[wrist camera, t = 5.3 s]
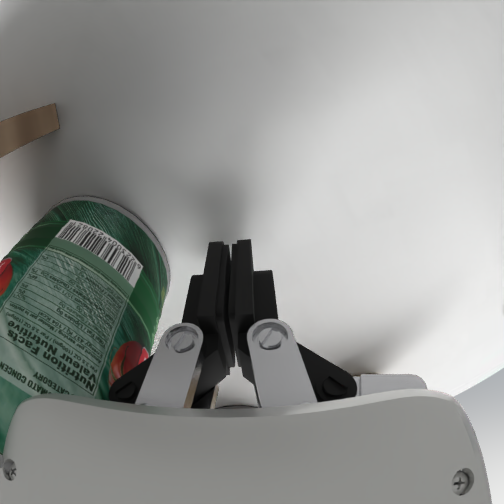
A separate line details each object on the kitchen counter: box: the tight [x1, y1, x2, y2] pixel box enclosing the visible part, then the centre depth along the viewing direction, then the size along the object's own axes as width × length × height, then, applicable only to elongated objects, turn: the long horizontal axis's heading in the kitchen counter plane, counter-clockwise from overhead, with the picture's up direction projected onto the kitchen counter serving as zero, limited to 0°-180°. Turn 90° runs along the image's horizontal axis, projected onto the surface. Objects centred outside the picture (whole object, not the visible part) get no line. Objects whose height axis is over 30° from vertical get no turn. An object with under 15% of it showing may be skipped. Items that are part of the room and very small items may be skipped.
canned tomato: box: [0, 196, 170, 475], centre depth 9 cm, size 8×8×11 cm
